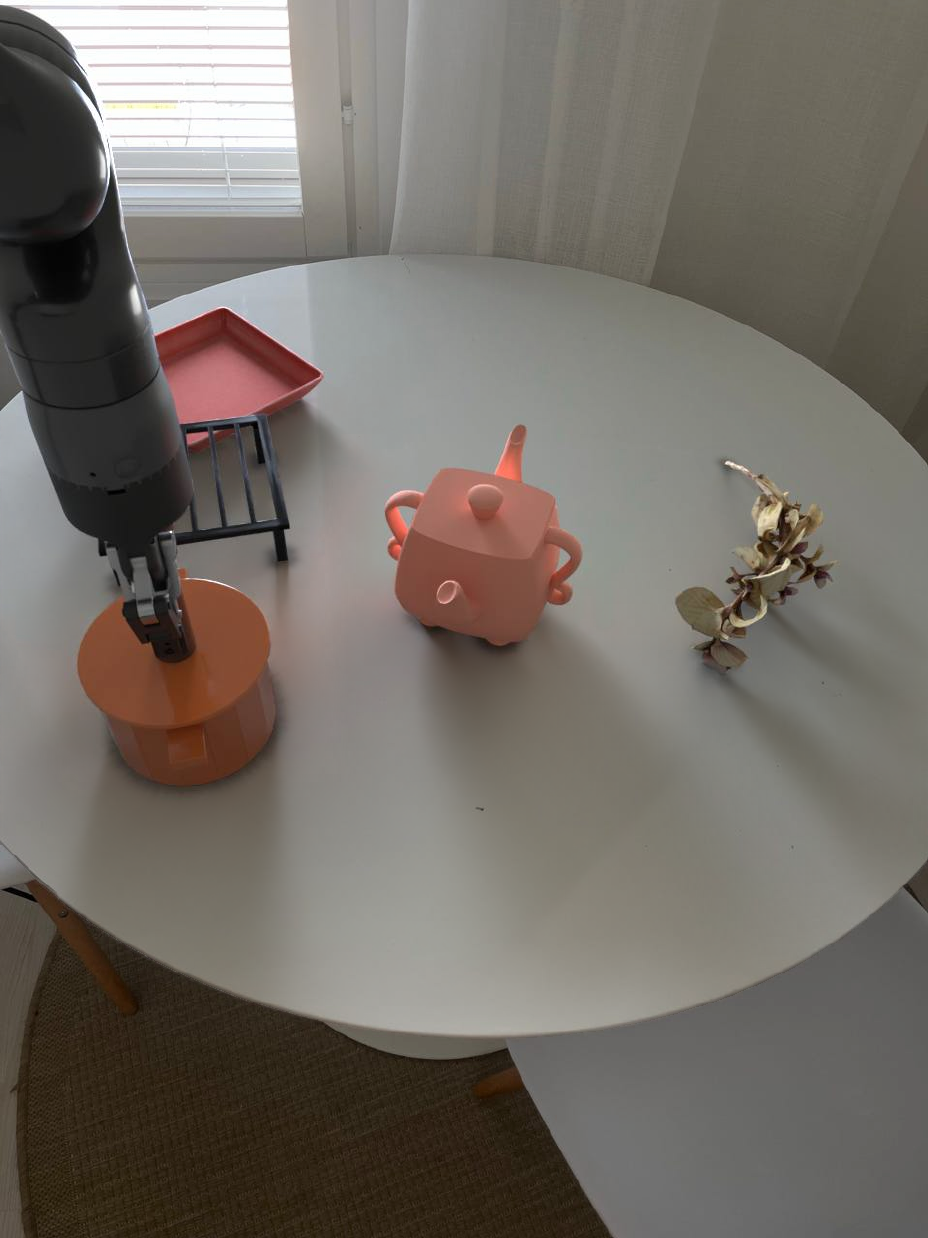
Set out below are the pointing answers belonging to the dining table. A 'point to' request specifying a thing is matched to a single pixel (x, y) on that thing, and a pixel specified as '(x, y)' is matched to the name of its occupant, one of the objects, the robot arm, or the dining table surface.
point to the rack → (264, 457)
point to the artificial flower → (755, 592)
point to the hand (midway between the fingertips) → (170, 632)
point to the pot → (200, 739)
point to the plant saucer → (229, 371)
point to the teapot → (481, 550)
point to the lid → (177, 660)
